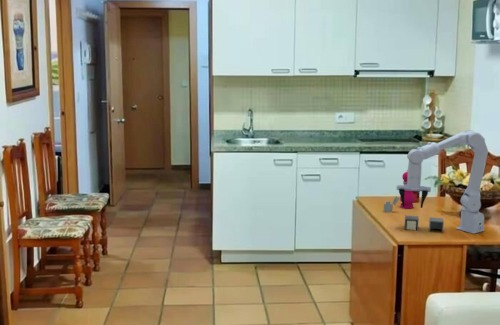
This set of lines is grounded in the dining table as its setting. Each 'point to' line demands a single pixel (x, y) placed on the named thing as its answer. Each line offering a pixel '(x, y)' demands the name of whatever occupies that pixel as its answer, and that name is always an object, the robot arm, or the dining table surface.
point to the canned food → (416, 196)
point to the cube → (411, 224)
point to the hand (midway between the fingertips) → (412, 206)
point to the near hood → (436, 223)
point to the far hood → (411, 219)
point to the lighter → (390, 205)
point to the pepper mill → (407, 194)
